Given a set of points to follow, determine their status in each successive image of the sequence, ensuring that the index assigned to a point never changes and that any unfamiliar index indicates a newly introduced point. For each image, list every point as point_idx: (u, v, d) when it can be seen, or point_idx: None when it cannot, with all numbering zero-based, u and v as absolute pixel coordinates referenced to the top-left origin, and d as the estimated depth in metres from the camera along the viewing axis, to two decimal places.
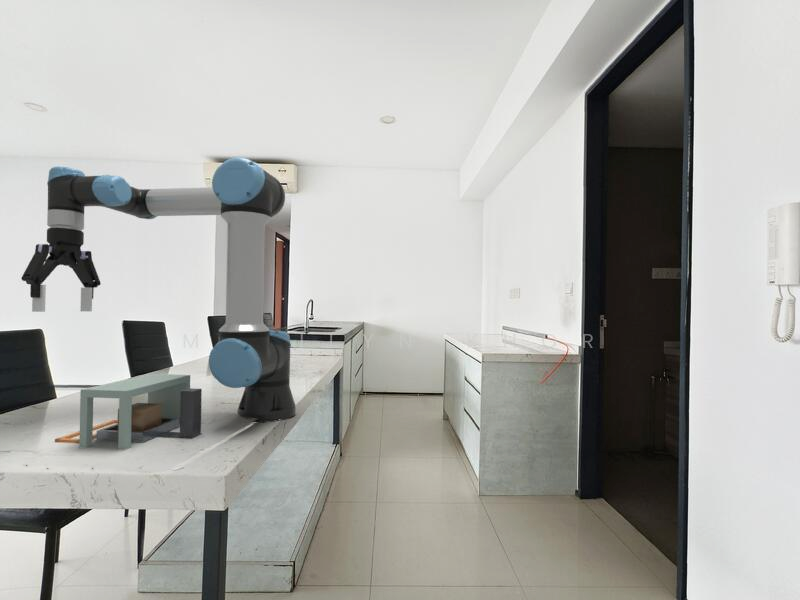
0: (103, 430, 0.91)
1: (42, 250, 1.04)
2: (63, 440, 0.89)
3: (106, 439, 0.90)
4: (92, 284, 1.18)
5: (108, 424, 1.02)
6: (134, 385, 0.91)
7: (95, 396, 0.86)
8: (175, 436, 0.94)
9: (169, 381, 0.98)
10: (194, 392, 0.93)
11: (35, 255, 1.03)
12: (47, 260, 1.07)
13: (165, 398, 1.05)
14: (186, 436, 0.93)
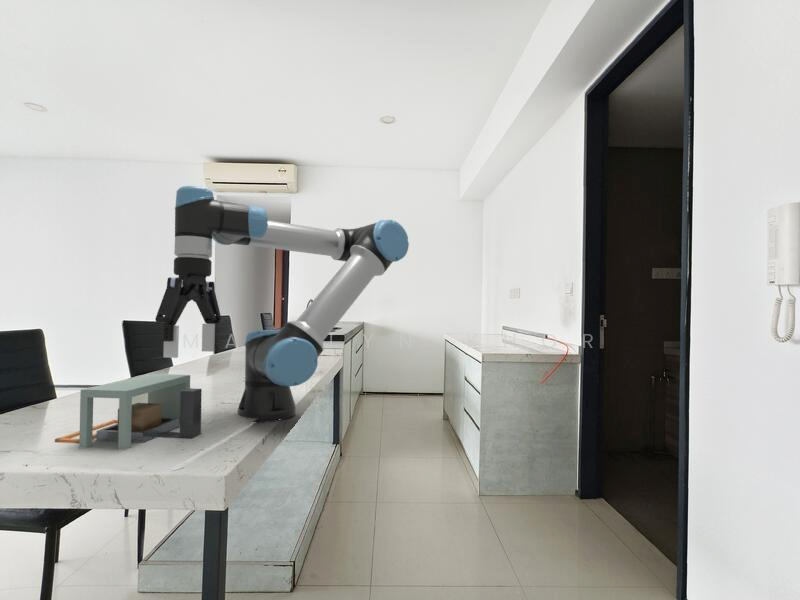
0: (103, 430, 0.91)
1: (175, 285, 0.88)
2: (63, 440, 0.89)
3: (106, 439, 0.90)
4: (214, 320, 1.02)
5: (108, 424, 1.02)
6: (134, 385, 0.91)
7: (95, 396, 0.86)
8: (175, 436, 0.94)
9: (169, 381, 0.98)
10: (194, 392, 0.93)
11: (167, 291, 0.88)
12: None
13: (165, 398, 1.05)
14: (186, 436, 0.93)
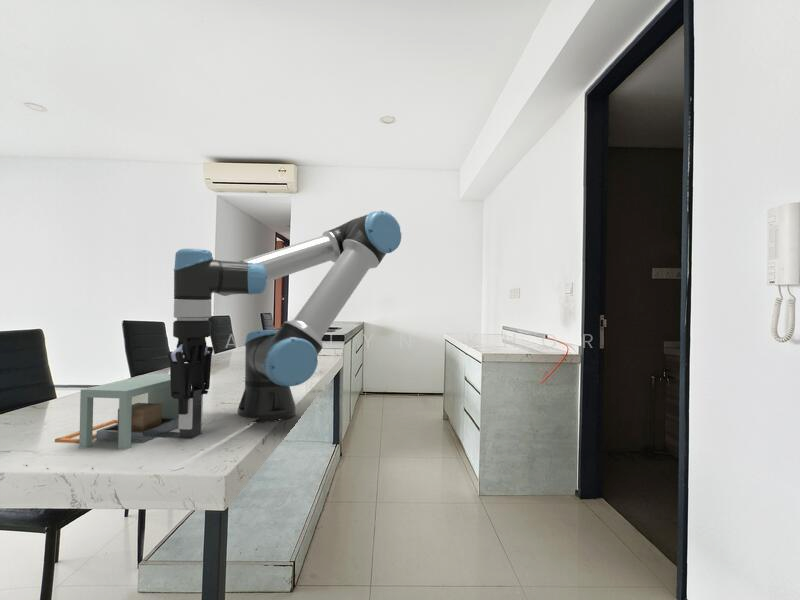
0: (103, 430, 0.91)
1: (177, 360, 0.89)
2: (63, 440, 0.89)
3: (106, 439, 0.90)
4: (203, 389, 0.97)
5: (108, 424, 1.02)
6: (134, 385, 0.91)
7: (95, 396, 0.86)
8: (175, 436, 0.94)
9: (169, 381, 0.98)
10: (194, 392, 0.93)
11: (172, 366, 0.89)
12: None
13: (165, 398, 1.05)
14: (186, 436, 0.93)
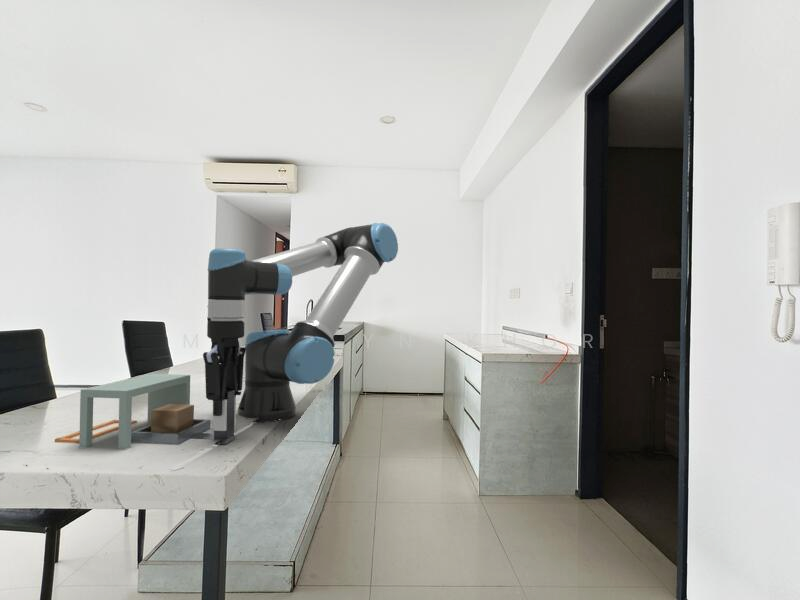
0: (137, 432, 0.90)
1: (213, 361, 0.88)
2: (63, 440, 0.89)
3: (140, 441, 0.89)
4: (236, 390, 0.96)
5: (108, 424, 1.02)
6: (134, 385, 0.91)
7: (95, 396, 0.86)
8: (209, 438, 0.93)
9: (169, 381, 0.98)
10: (228, 393, 0.92)
11: (207, 367, 0.88)
12: None
13: (165, 398, 1.05)
14: (220, 438, 0.92)
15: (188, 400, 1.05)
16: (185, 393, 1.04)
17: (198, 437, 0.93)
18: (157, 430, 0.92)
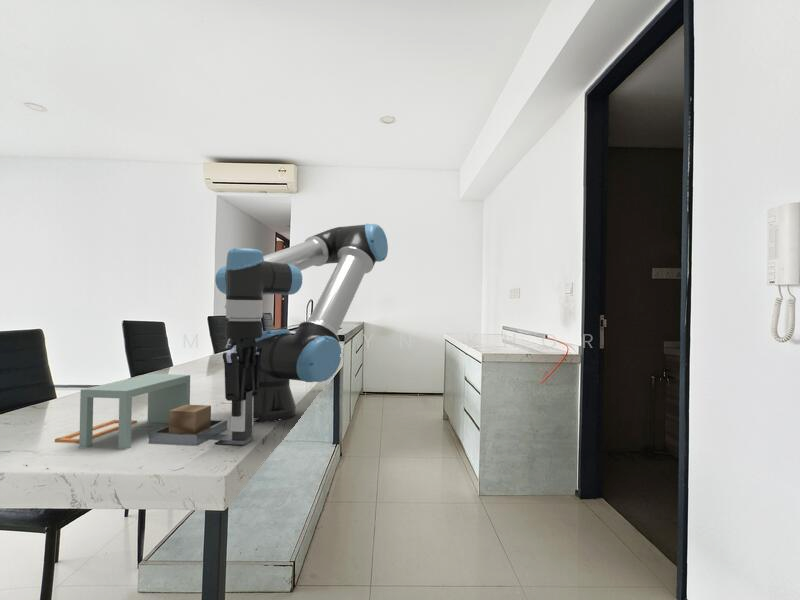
0: (155, 432, 0.89)
1: (232, 362, 0.87)
2: (63, 440, 0.89)
3: (159, 442, 0.89)
4: (253, 391, 0.95)
5: (108, 424, 1.02)
6: (134, 385, 0.91)
7: (95, 396, 0.86)
8: (227, 438, 0.92)
9: (169, 381, 0.98)
10: (246, 394, 0.92)
11: (227, 368, 0.88)
12: None
13: (165, 398, 1.05)
14: (238, 438, 0.91)
15: (188, 400, 1.05)
16: (185, 393, 1.04)
17: (216, 438, 0.92)
18: (175, 431, 0.92)
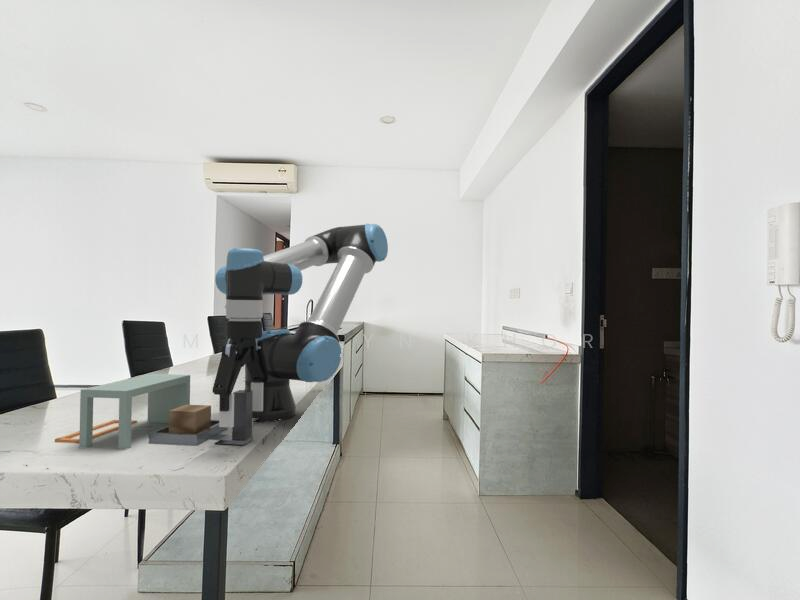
0: (155, 432, 0.89)
1: (230, 353, 0.86)
2: (63, 440, 0.89)
3: (159, 442, 0.89)
4: (263, 378, 1.00)
5: (108, 424, 1.02)
6: (134, 385, 0.91)
7: (95, 396, 0.86)
8: (227, 438, 0.92)
9: (169, 381, 0.98)
10: (246, 394, 0.92)
11: (223, 359, 0.86)
12: None
13: (165, 398, 1.05)
14: (239, 438, 0.91)
15: (188, 400, 1.05)
16: (185, 393, 1.04)
17: (216, 438, 0.92)
18: (175, 431, 0.92)
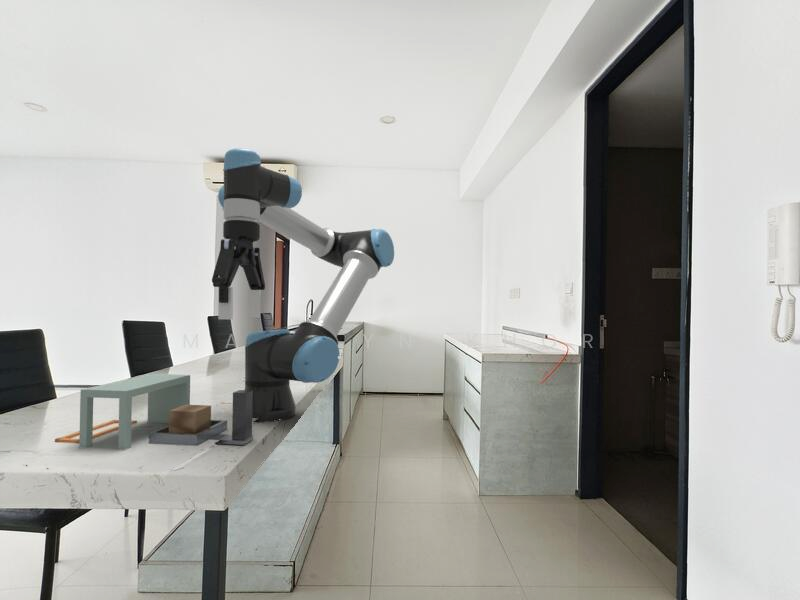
0: (155, 432, 0.89)
1: (229, 246, 0.87)
2: (63, 440, 0.89)
3: (159, 442, 0.89)
4: (260, 286, 1.01)
5: (108, 424, 1.02)
6: (134, 385, 0.91)
7: (95, 396, 0.86)
8: (227, 438, 0.92)
9: (169, 381, 0.98)
10: (246, 394, 0.92)
11: (221, 252, 0.87)
12: None
13: (165, 398, 1.05)
14: (239, 438, 0.91)
15: (188, 400, 1.05)
16: (185, 393, 1.04)
17: (216, 438, 0.92)
18: (175, 431, 0.92)
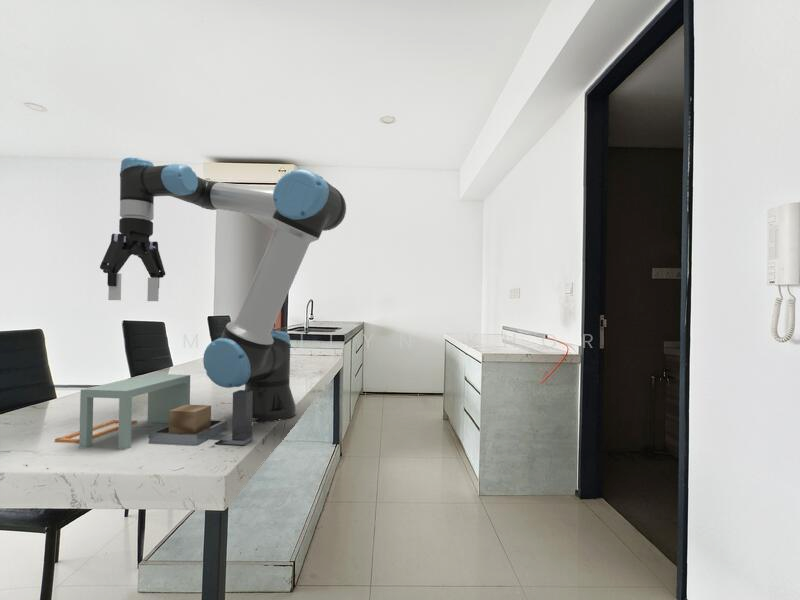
0: (155, 432, 0.89)
1: (118, 239, 1.05)
2: (63, 440, 0.89)
3: (159, 442, 0.89)
4: (158, 274, 1.19)
5: (108, 424, 1.02)
6: (134, 385, 0.91)
7: (95, 396, 0.86)
8: (227, 438, 0.92)
9: (169, 381, 0.98)
10: (246, 394, 0.92)
11: (111, 244, 1.05)
12: (121, 250, 1.08)
13: (165, 398, 1.05)
14: (239, 438, 0.91)
15: (188, 400, 1.05)
16: (185, 393, 1.04)
17: (216, 438, 0.92)
18: (175, 431, 0.92)
